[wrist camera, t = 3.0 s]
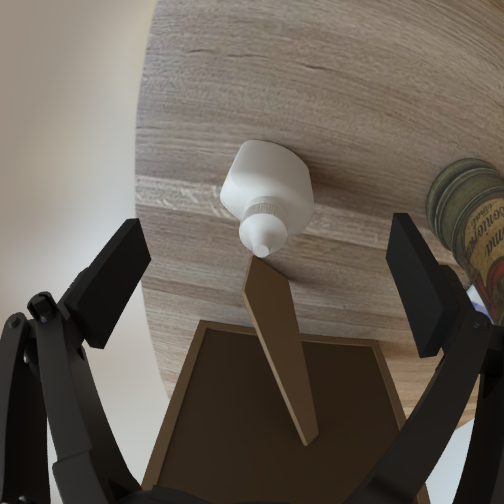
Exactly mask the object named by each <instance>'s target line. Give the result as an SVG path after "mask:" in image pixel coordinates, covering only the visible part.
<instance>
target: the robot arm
mask: <svg viewBox="0 0 504 504" xmlns="http://www.w3.org/2000/svg"><path fill="white" fill-rule="evenodd" d="M386 260H387V263H388V265H389V268H390V270H391V273H392V276H393V278H394V281H395V284H396V286H397V289H398V292H399V295H400V297H401V300H402V303H403V306H404V309H405V312H406V315H407V318H408V321H409V324H410V327H411V330H412V333H413V337H414V340H415V343H416V346H417V350H418V353H419V357H420V358H425V357H433V356H436V355H437V354H438V352H439V350H440V348H441V347H442V350H443V353H444V356H443V357H442V359H441V361H440V362H439V364H438V366H437V367H436V369H435V370H436V371H435V373H434V375H433V377H432V378H431V380H430V382H429V384H428V386H427V388H426V389H425V391H424V393H423V395H422V396H421V398H420V400H419V401H418V403H417V405H416V406H415V408H414V410H413V411H412V413H411V415H410V416H409V418H408V419H407V421H406V422H405V424H404V425H403V427H402V428H401V430H400V431H399V433H398V434H397V436H396V437H395V439H394V440H393V442H392V443H391V444H390V446H389V447H388V449H387V450H386V451H385V453H384V454H383V455H382V457H381V458H380V459H379V461H378V462H377V463H376V465H375V466H374V467H373V469H372V470H371V471H370V472H369V474H368V475H367V476H366V477H365V478H364V480H363V481H362V482H361V483H360V484H359V486H358V487H357V488H356V489H355V490H354V491H353V493H352V494H351V495H350V496H349V497H348V498H347V499H346V500H345V501H344V502H343V503H342V504H413V501H414V499H415V497H416V495H417V494H418V492H419V491H420V489H421V488H422V486H423V485H424V483H425V482H426V480H427V478H428V477H429V475H430V474H431V472H432V470H433V469H434V467H435V465H436V464H437V462H438V460H439V458H440V457H441V455H442V453H443V451H444V450H445V448H446V446H447V444H448V442H449V440H450V438H451V436H452V434H453V432H454V430H455V428H456V426H457V424H458V422H459V420H460V418H461V416H462V413H463V411H464V409H465V407H466V404H467V402H468V400H469V397H470V395H471V393H472V390H473V387H474V385H475V382H476V380H477V377H478V374H480V384H479V392H478V400H477V407H476V413H475V419H474V425H473V430H472V435H471V440H470V444H469V449H468V453H467V457H466V461H465V465H464V468H463V472H462V475H461V479H460V482H459V485H458V488H457V492H456V495H455V498H454V500H453V503H452V504H504V326H499V325H494V324H492V322H491V320H490V318H489V317H488V316H487V315H486V314H484V313H483V312H480V311H477V310H476V309H475V307H474V305H473V304H472V302H471V300H470V298H469V296H468V294H467V292H466V290H465V289H464V288H463V285H462V283H461V282H460V280H459V278H458V276H457V275H456V273H455V271H453V270H452V269H451V268H450V267H449V266H448V265H439V264H438V262H437V261H436V259H435V257H434V255H433V254H432V252H431V250H430V249H429V247H428V245H427V244H426V242H425V240H424V239H423V237H422V235H421V234H420V232H419V231H418V229H417V227H416V226H415V224H414V223H413V221H412V220H411V218H410V216H409V215H408V213H393V220H392V226H391V232H390V237H389V243H388V248H387V254H386ZM150 261H151V257H150V254H149V251H148V248H147V244H146V241H145V238H144V234H143V231H142V227H141V224H140V221H139V218H134V219H127V220H126V221H125V222H124V223H123V224H122V226H121V227H120V228H119V229H118V230H117V232H116V233H115V234H114V236H112V238H111V239H110V240H109V241H108V243H107V244H106V245H105V246H104V248H103V249H102V250H101V252H100V253H99V254H98V255H97V257H96V258H95V259H94V261H93V262H92V263H91V265H90V266H89V267H87V268H85V269H84V270H83V271H82V272H80V273H79V274H78V276H77V277H76V278H75V280H74V282H72V284H71V285H70V286H69V287H70V288H68V289H67V291H66V292H65V293H64V295H63V296H62V298H61V299H60V300H59V302H58V303H57V304H56V303H55V301H54V299H53V297H52V295H51V294H50V293H49V292H47V291H46V292H40V293H38V294H36V295H35V296H33V297H32V298H31V300H30V301H29V302H28V305H27V309H28V310H29V312H30V313H31V315H32V316H33V318H34V319H30V320H27V318H26V317H25V315H24V314H23V313H21V312H19V313H16V314H13V315H12V316H10V317H9V318H8V320H7V321H6V323H5V325H4V329H3V332H2V335H1V339H0V504H51V498H50V485H49V473H48V455H47V417H48V422H49V425H50V430H51V435H52V439H53V443H54V446H55V450H56V454H57V462H55V463H53V466H52V470H53V475H54V478H55V481H56V484H57V487H58V490H59V493H60V496H61V499H62V502H63V504H213V503H211V502H208V501H206V500H203V499H201V498H198V497H196V496H194V495H191V494H189V493H187V492H185V491H180V490H175V489H171V488H166V487H162V486H158V485H154V484H153V487H152V489H149V490H143V489H142V487H141V486H140V484H139V483H138V482H137V480H136V479H135V478H134V477H133V476H132V474H131V473H130V471H129V469H128V468H127V465H126V463H125V461H124V459H123V457H122V454H121V452H120V450H119V447H118V445H117V443H116V441H115V438H114V436H113V433H112V431H111V428H110V426H109V423H108V421H107V418H106V415H105V412H104V410H103V407H102V404H101V401H100V398H99V395H98V393H97V389H96V386H95V383H94V380H93V377H92V374H91V370H90V367H89V364H88V360H87V357H86V353H85V349H84V348H83V346H82V342H83V341H84V339H85V340H86V341H87V343H88V344H89V346H90V347H93V348H98V349H104V347H105V345H106V343H107V341H108V339H109V337H110V335H111V333H112V331H113V329H114V327H115V325H116V323H117V322H118V320H119V318H120V316H121V314H122V312H123V310H124V308H125V306H126V304H127V302H128V301H129V299H130V297H131V295H132V293H133V292H134V290H135V288H136V286H137V284H138V282H139V281H140V279H141V277H142V275H143V274H144V272H145V270H146V268H147V267H148V265H149V263H150ZM24 356H25V357H26V362H24ZM232 504H290V502H271V501H248V502H241V503H232Z"/></svg>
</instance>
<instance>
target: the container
mask: <svg viewBox="0 0 504 504" xmlns="http://www.w3.org/2000/svg"><path fill="white" fill-rule="evenodd" d="M426 214H427V219H428V223H429V226H430V229H431V230H432V232H433V234H434V235H435V236H436V237H437V238H438V239H439V241H440V242H441V244H442V245H443V246H444V247H445V248H446V249H448V250H449V251H451V252H452V253H453V256H454V258H455V260H456V262H457V263H458V264H459V265H460V266H461V267H462V268H463V269H464V270H465V272H466V273H467V275H468V277H469V278H470V280H471V282H472V284H473V285H474V287H475V289H476V291H477V293H478V294H479V296H480V298H481V300H482V302H483V304H484V306H485V308H486V310H487V312H488V313H489V315H490V317H491V319H492V321H493V323H494V325H499V326H504V177H503V176H502V175H501V174H500V173H498V171H497V170H496V169H495V168H494V167H493V166H491V165H490V164H489V163H487V162H485V161H482V160H478V159H470V158H469V159H462V160H459V161H456V162H454V163H452V164H450V165H449V166H447V167H446V168H445V169H444V170H443V171H442V172H441V173H440V174H439V175H438V176H437V178H436V179H435V181H434V182H433V184H432V186H431V189H430V191H429V194H428V198H427V203H426Z"/></svg>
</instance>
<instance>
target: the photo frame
mask: <svg viewBox="0 0 504 504" xmlns="http://www.w3.org/2000/svg"><path fill="white" fill-rule="evenodd" d="M241 294H242V297H243V299H244V302H245V304H246V307H247V309H248V312H249V314H250V317H251V319H252V322H253V324H254V327H255V328H249V327H242V326H235V325H229V324H222V323H215V322H209V321H203V320H200V322H199V324H198V327H197V330H196V332H195V335H194V338H193V340H192V343H191V346H190V348H189V351H188V354H187V356H186V359H185V362H184V365H183V367H182V370H181V373H180V375H179V378H178V381H177V384H176V386H175V389H174V392H173V395H172V398H171V400H170V403H169V406H168V409H167V412H166V414H165V417H164V420H163V423H162V426H161V428H160V431H159V434H158V437H157V440H156V443H155V446H154V449H153V451H152V454H151V457H150V460H149V463H148V466H147V469H146V472H145V475H144V478H143V481H142V484H141V487H142V489H143V490H149V489H152V487H153V484H154V485H158V486H162V487H166V488H171V489H175V490H180V491H185V492H187V493H189V494H191V495H194V496H196V497H198V498H201V499H203V500H206V501H208V502H211V503H213V504H232V503H241V502H248V501H271V502H290V504H342V503H343V502H344V501H345V500H346V499H347V498H348V497H349V496H350V495H351V494H352V493H353V491H354V490H355V489H356V488H357V487H358V486H359V484H360V483H361V482H362V481H363V480H364V478H365V477H366V476H367V475H368V474H369V472H370V471H371V470H372V469H373V467H374V466H375V465H376V463H377V462H378V461H379V459H380V458H381V457H382V455H383V454H384V453H385V451H386V450H387V449H388V447H389V446H390V444H391V443H392V442H393V440H394V439H395V437H396V436H397V434H398V433H399V431H400V430H401V428H402V427H403V425H404V424H405V422H406V421H407V420H406V417H405V414H404V411H403V408H402V405H401V402H400V399H399V396H398V393H397V391H396V388H395V385H394V382H393V379H392V377H391V374H390V371H389V369H388V366H387V363H386V361H385V358H384V356H383V353H382V350H381V348H380V345H379V343H378V340H368V339H353V338H341V337H329V336H318V335H308V334H300V333H299V328H298V324H297V319H296V314H295V309H294V305H293V300H292V295H291V291H290V286H289V282H288V279H287V278H286V277H284V276H283V275H281V274H280V273H278V272H277V271H276V270H274V269H273V268H271V267H270V266H268V265H267V264H265V263H264V262H262V261H261V260H259V259H258V258H256V257H255V256H252V257H250V261H249V265H248V269H247V272H246V276H245V280H244V284H243V288H242V292H241ZM413 504H430V499H429V495H428V491H427V487H426V483H424V485H423V486H422V488H421V489H420V491H419V492H418V494H417V495H416V497H415V499H414V501H413Z"/></svg>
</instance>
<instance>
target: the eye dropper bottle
mask: <svg viewBox="0 0 504 504" xmlns="http://www.w3.org/2000/svg"><path fill="white" fill-rule="evenodd" d="M220 200H221V202H222V204H223V205H224V206H225V208H226V209H227V210H228V211H229V212H230V213H231V214H232V215H233V216H235V217H236V218H237V219H238V220H240V221H241V224H240V228H239V236H240V239H241V241H242V243H243V244H244V245H245V246H246V248H248V249H249V250H251V251H253V252H254V254H255V255H256V256H257V257H266V256H267V255H268V254H270V253H274V252H276V251H278V250H280V249H281V248H282V247H283V245H285V243H286V241H287V239H288V235H297V234H300V233H302V232H303V231H304V230H305V228H306V227H307V225H308V224H309V222H310V220H311V218H312V216H313V214H314V209H315V206H314V198H313V191H312V186H311V180H310V175H309V170H308V167H307V166H306V164H305V163H304V162H303V161H302V160H301V159H300V158H299V157H298V156H297V155H295V154H294V153H293V152H291V151H290V150H288V149H286V148H285V147H282V146H280V145H278V144H275V143H271V142H267V141H261V140H248V141H245V142H244V143H243V144H242V146H241V148H240V150H239V152H238V154H237V156H236V158H235V160H234V162H233V164H232V166H231V168H230V170H229V173H228V175H227V177H226V180H225V182H224V185H223V187H222V190H221V193H220Z"/></svg>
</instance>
